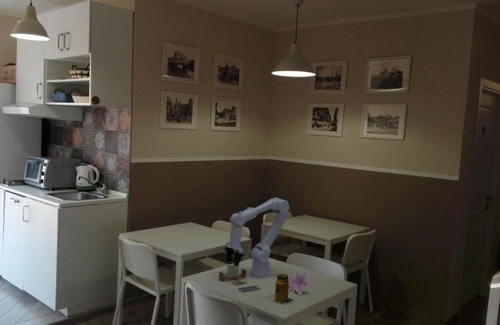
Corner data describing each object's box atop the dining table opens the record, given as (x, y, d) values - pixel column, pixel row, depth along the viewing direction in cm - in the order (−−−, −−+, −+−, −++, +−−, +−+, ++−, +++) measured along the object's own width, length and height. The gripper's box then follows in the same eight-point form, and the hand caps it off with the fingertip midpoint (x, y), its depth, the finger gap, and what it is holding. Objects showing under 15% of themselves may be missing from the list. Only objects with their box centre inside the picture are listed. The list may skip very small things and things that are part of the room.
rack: (241, 277, 238) (241, 267, 238) (254, 286, 226) (255, 275, 226) (217, 281, 231) (217, 270, 231) (229, 290, 219) (230, 279, 219)
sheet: (237, 279, 234) (237, 264, 233) (238, 280, 233) (238, 265, 232) (226, 281, 231) (227, 265, 230) (227, 281, 230) (228, 266, 229)
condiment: (271, 300, 209) (272, 275, 208) (281, 295, 216) (283, 271, 215) (283, 305, 205) (285, 279, 204) (294, 300, 211) (295, 275, 210)
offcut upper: (241, 280, 229) (241, 278, 229) (246, 283, 226) (246, 281, 226) (231, 282, 226) (231, 280, 226) (237, 285, 222) (237, 283, 222)
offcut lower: (242, 282, 230) (242, 280, 230) (247, 285, 225) (247, 283, 225) (230, 284, 226) (230, 282, 226) (235, 287, 222) (235, 285, 222)
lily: (283, 289, 227) (281, 276, 222) (302, 278, 231) (300, 265, 226) (297, 304, 218) (295, 291, 213) (316, 293, 222) (315, 279, 217)
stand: (255, 288, 224) (255, 283, 224) (264, 293, 217) (264, 288, 217) (234, 291, 218) (234, 286, 217) (242, 297, 211) (242, 292, 211)
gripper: (222, 234, 234) (219, 259, 235) (235, 240, 222) (232, 268, 223) (234, 233, 238) (231, 259, 239) (247, 240, 226) (244, 267, 226)
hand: (232, 263), depth 231 cm, fingers open, 7 cm apart
